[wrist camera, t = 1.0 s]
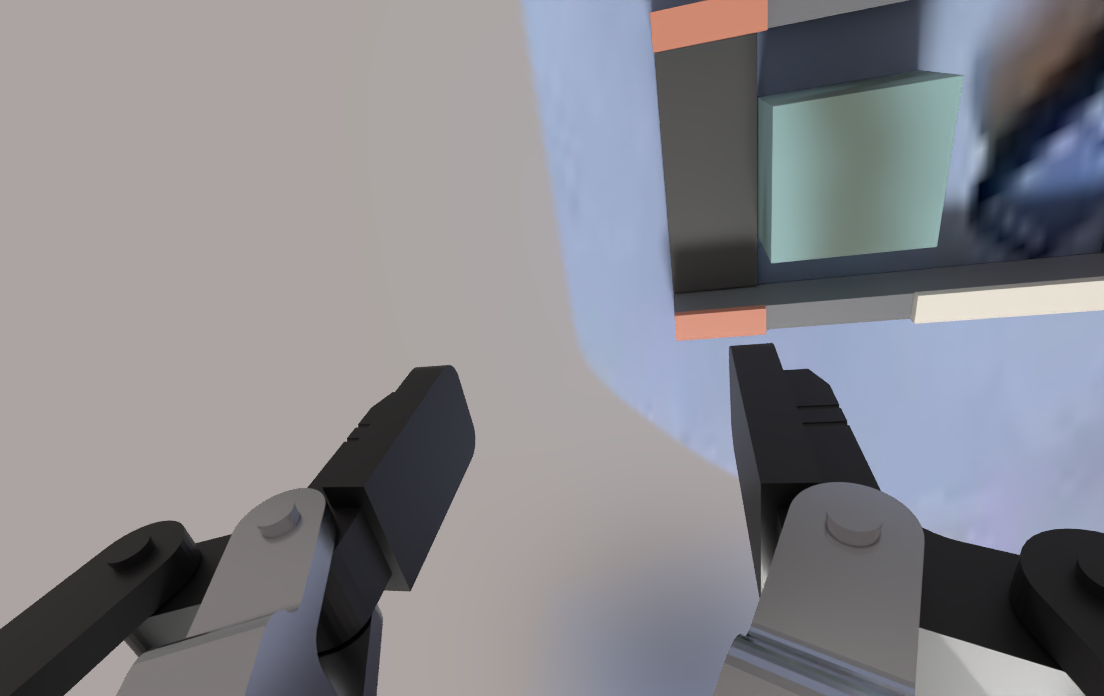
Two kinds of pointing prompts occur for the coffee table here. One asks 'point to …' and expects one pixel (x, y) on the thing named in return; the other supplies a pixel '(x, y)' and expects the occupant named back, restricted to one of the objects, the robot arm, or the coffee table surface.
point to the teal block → (855, 165)
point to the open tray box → (731, 201)
